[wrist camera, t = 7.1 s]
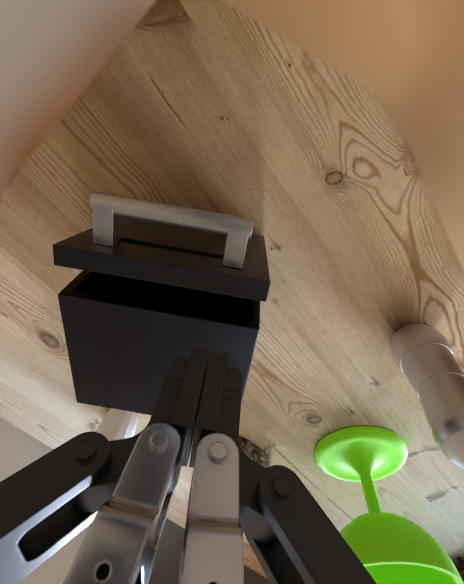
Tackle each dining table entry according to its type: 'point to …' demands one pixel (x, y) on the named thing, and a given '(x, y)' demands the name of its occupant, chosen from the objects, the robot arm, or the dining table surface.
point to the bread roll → (254, 453)
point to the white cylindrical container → (118, 424)
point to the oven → (147, 335)
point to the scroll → (460, 568)
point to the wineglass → (376, 524)
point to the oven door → (169, 247)
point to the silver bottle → (434, 384)
